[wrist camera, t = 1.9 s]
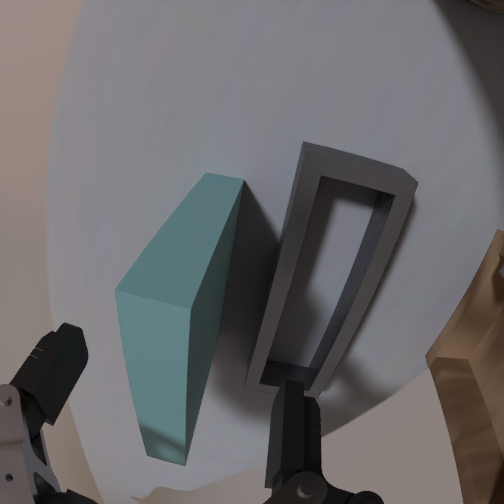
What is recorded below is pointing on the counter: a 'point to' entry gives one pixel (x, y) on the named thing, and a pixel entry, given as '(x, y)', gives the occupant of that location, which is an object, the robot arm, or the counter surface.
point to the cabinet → (475, 380)
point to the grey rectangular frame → (362, 273)
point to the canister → (491, 5)
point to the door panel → (178, 314)
